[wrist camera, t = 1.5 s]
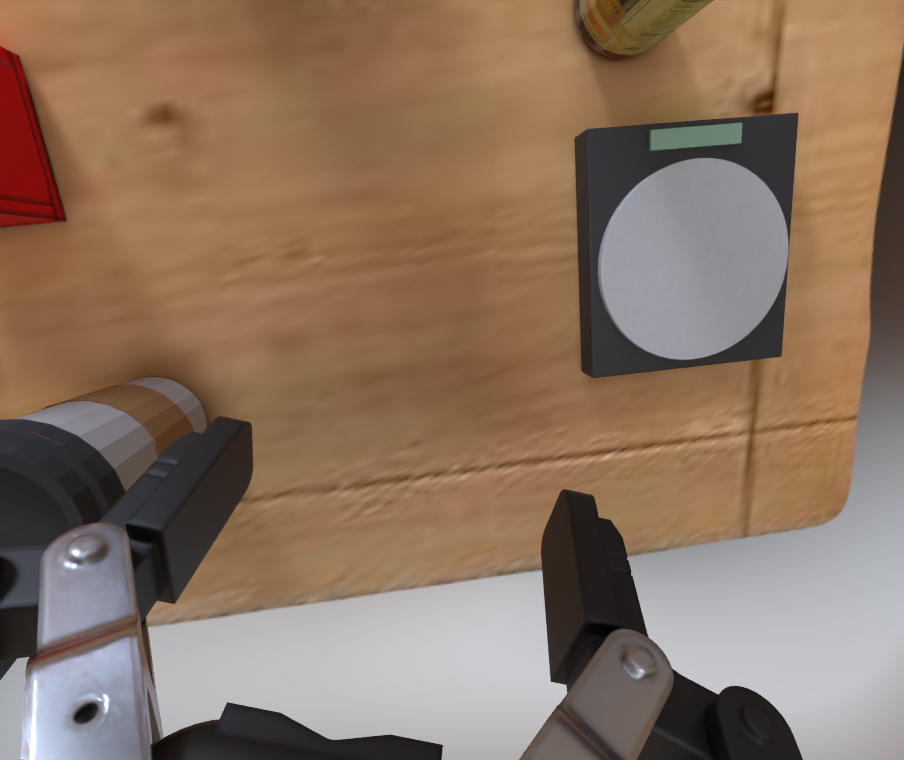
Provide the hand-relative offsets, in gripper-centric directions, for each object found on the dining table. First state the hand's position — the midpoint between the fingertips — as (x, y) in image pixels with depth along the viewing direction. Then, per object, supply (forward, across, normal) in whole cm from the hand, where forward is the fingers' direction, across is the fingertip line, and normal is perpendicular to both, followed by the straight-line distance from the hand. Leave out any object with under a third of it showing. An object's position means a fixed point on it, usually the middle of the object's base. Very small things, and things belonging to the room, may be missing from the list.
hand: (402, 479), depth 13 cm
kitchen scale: (+27, -15, -1) cm, 31 cm away
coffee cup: (+17, +18, +15) cm, 29 cm away
